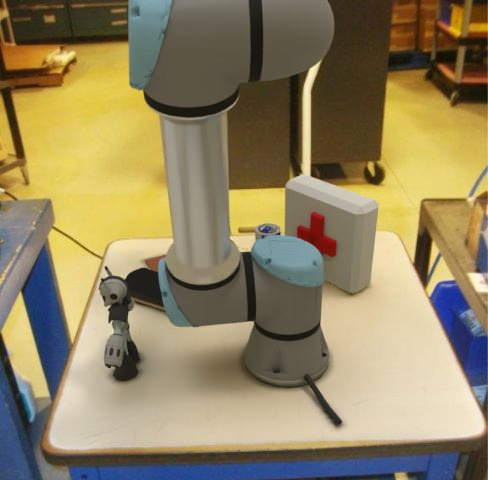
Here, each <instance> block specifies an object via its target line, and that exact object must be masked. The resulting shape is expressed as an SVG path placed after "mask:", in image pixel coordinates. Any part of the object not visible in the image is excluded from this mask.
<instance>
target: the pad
mask: <svg viewBox="0 0 488 480" xmlns="http://www.w3.org/2000/svg"><path fill="white" fill-rule="evenodd" d="M165 257H166V254H162V255H158V256H154V257H150V258H147V259H144V262H145V263H146V265H147V266H148V267H149V269H150V270H153V271H156V272H158V264H159V261H160V260H161V259H163V258H165Z"/></svg>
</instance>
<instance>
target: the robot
mask: <svg viewBox="0 0 488 480" xmlns="http://www.w3.org/2000/svg"><path fill="white" fill-rule="evenodd" d="M104 271H105V272H106V274H107V275H108V276H106V277H104V278H103V277H101V278H100V282H99V285H98V291H99V295H100V296H101V298H102V301H103V306H104V307H105V308H107V307H108V308H107V312H108V319H107V321H108V325H109V324H111V326H112V329H113V333H112V334H110V335H109V337H108V339H107V340H106V344H105V347H104V354H103V361H104V362H103V363H104V367H107V369H111V368H112V367H113V368H114V370H113V371H112V377H113V378H114V379H115V381H119V382H126V381H129V380H133V379H135V378H136V377H137V375H138V374H139V369H138V366H137V363H139V362H140V361H141V357H140V353H139V350H138V347H137V345H136V343H135V341H134V339H132V336H131V333H130V328H131V327H130V323H129V313H131V312H132V310H133V309H134V306H135V301H134V300H133V298H131V296H130V294H129V286H128V284H127V282H126V281H125V278H124V277H121V276H119V275H115V274H113V273H112V272H111V270H110V269H109V267H108V265H105V266H104Z"/></svg>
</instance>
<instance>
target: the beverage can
mask: <svg viewBox="0 0 488 480" xmlns="http://www.w3.org/2000/svg"><path fill="white" fill-rule="evenodd" d="M281 231H282V230H281V227H280V226H279V225H278V224H275V223H269V222H268V223H267V222H266V223H261V224H258V225H257V226H256V227H255V229H254V237H255V238H254V240H255V241H254V243H255V242H256V241H257V240H258V239H262V238H263V237H265V236H270V235H282V234H281V233H282V232H281Z"/></svg>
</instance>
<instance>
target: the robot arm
mask: <svg viewBox="0 0 488 480" xmlns="http://www.w3.org/2000/svg"><path fill="white" fill-rule="evenodd" d="M127 6H128V10H127V12H128V17H127V18H128V20H127V21H128V84H129V87H130V88H132V89H134V90H137V91H139V92H140V91H142V93H143V99H144V102H145V104H146V106H147V107H148V108H149V109H150V110H151V111H153V112H154V113H155V114H157V115H158V120H159V127H160V128H159V129H160V136H161V146H162V154H163V162H164V163H163V165H164V172H165V179H166V180H165V181H166V189H167V197H168V207H169V214H170V224H171V233H172V241H173V242H172V243H171V244H170V246H169V247H168V249H167V251H166V253H165V255H166V257H165V258H163V259H161V260H160V261H159V264H158V277H159V285H160V290H161V293H162V300H163V304H164V308H165V311H164V312H165V315H166V316H167V318H168V321H169V322H170V323H171V324H172V325H173V326H175V327H177V328H198V327H208V326H218V325H229V324H238V323H248V322H250V323H251V322H253V326H252V328H251V331H250V334H249V337H248V340H247V342H246V345H245V347H244V364H245V367H246V369H247V371H248V372H249V374H251V376H253V377H254V378H256V379H257V380H259V381H260V382H262V383H265V384H267V385H271V386H276V387H284V388H288V387H289V388H291V387H300V386H304V385H308V386H309V387H310V389H311V391H312V392H313V394H314V395H315V397H316V399H317V400H318V402H319V403H320V405H321V406H322V407H323V409H324V411H326V413H327V414H328V415H329V417H330V418H331V419H332V420H333V422H334V423H335V424H336V425H338V426H340V425H342V423H343V420H342V418H340V416H339V415H338V414H337V412H336V411H335V410H334V409H333V408H332V406H331V405H330V404H329V402H328V401H327V400H326V398H325V397H324V395H323V394H322V392H321V391H320V389H319V387H318V386H317V384H316V383H315V381H316V380H318V379H319V378H320V377H322V376H323V375H324V374H325V373H326V371H327V369H328V367H329V362H330V352H329V346H328V344H327V340H326V337H325V335H324V334H325V333H324V331H323V328H322V325H321V322H322V308H323V307H322V306H323V289H324V282H325V280H324V270H323V258H322V255H321V253H320V252H319V251H318V249H317V248H316V247H314V246H313V245H312V244H310V243H308V242H306V241H304V240H302V239H299V238H296V237H292V236H286V235H285V234H281V235H270V236H265V237H263V238H262V239H258V240H257V241H256V242H255V241H254V243H253V244H252V246H251V249H250V251H249V250H248V251H240V249H239V248H238V245H237V244H236V243H235V241H233V240H232V239H231V225H230V223H231V222H230V219H231V218H230V181H229V180H230V179H229V177H230V176H229V174H230V173H229V134H228V133H229V132H228V131H229V128H228V112H229V110H231V109H232V108H233V107H234V106H235V105H236V104H237V102H238V100H239V98H240V84H247V83H258V82H269V81H276V80H281V79H285V78H289V77H292V76H295V75H298V74H300V73H303V72H306V71H307V70H309V69H311V68H313V67H315V66H316V65H317V64H318V63H320V62H321V61H322V60H323V59H324V58H325V56H326V55H327V53H328V52H329V50H330V48H331V45H332V42H333V40H334V35H335V18H334V12H333V9H332V6H331V5H330V3H329V1H328V0H128V5H127Z"/></svg>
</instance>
